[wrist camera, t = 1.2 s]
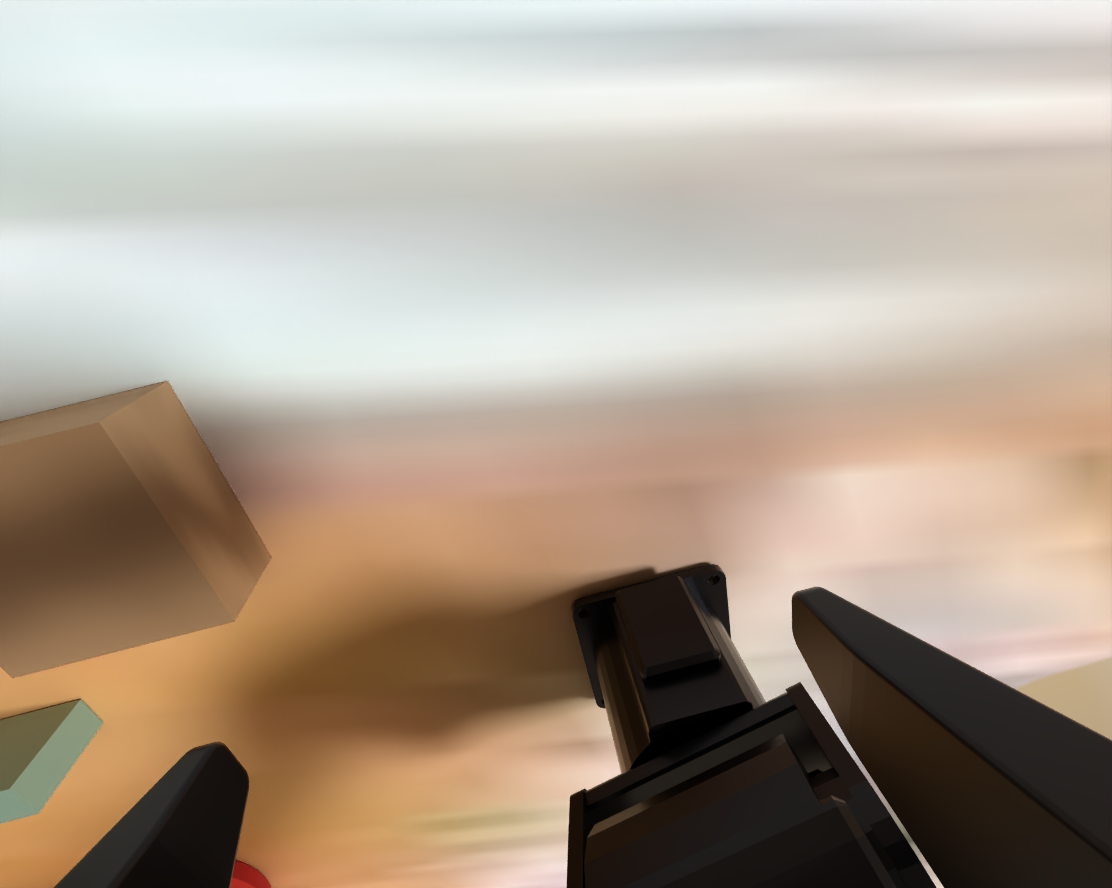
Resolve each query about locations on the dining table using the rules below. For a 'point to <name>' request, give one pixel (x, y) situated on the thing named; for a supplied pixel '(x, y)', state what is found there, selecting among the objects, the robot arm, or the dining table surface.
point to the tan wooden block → (115, 531)
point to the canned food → (247, 877)
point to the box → (40, 754)
